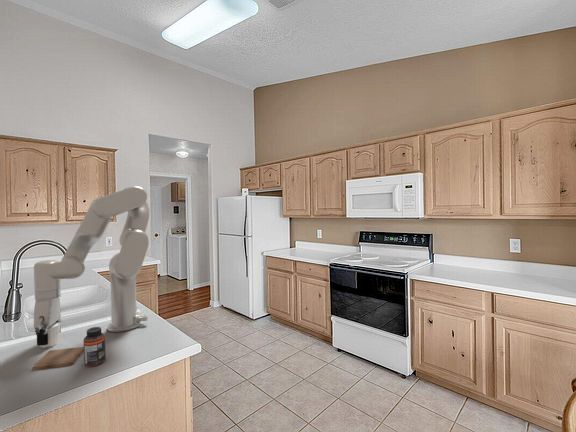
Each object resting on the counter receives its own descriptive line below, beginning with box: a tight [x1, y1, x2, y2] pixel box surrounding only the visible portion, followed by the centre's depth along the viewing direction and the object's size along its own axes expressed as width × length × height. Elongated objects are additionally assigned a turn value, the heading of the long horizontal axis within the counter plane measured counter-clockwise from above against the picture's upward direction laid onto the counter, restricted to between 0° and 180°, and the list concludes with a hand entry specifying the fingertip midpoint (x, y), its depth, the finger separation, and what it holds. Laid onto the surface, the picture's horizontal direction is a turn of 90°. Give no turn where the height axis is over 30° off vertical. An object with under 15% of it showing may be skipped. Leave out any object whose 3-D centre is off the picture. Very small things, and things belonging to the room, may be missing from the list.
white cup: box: [39, 322, 61, 348], centre depth 111 cm, size 7×7×7 cm
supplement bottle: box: [83, 326, 106, 368], centre depth 98 cm, size 6×6×11 cm
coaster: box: [32, 346, 84, 371], centre depth 101 cm, size 11×11×1 cm
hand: (49, 339), depth 112 cm, fingers open, 9 cm apart
